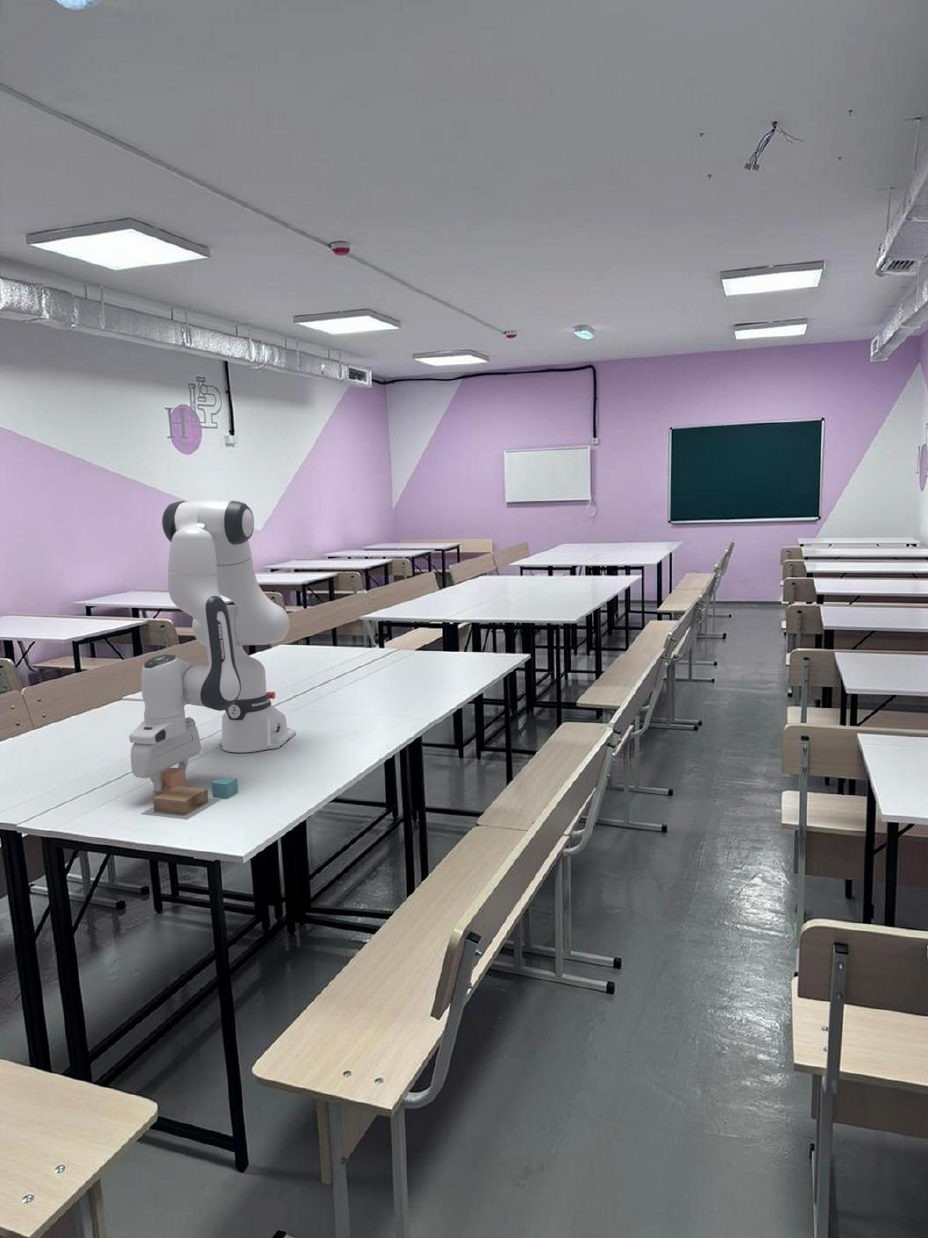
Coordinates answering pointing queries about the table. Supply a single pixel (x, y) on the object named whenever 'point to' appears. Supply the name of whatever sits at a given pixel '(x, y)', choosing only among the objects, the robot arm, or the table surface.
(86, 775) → the table surface
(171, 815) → the mat
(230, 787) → the teal cube
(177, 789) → the base brick
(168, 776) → the terracotta cube
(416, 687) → the table surface
